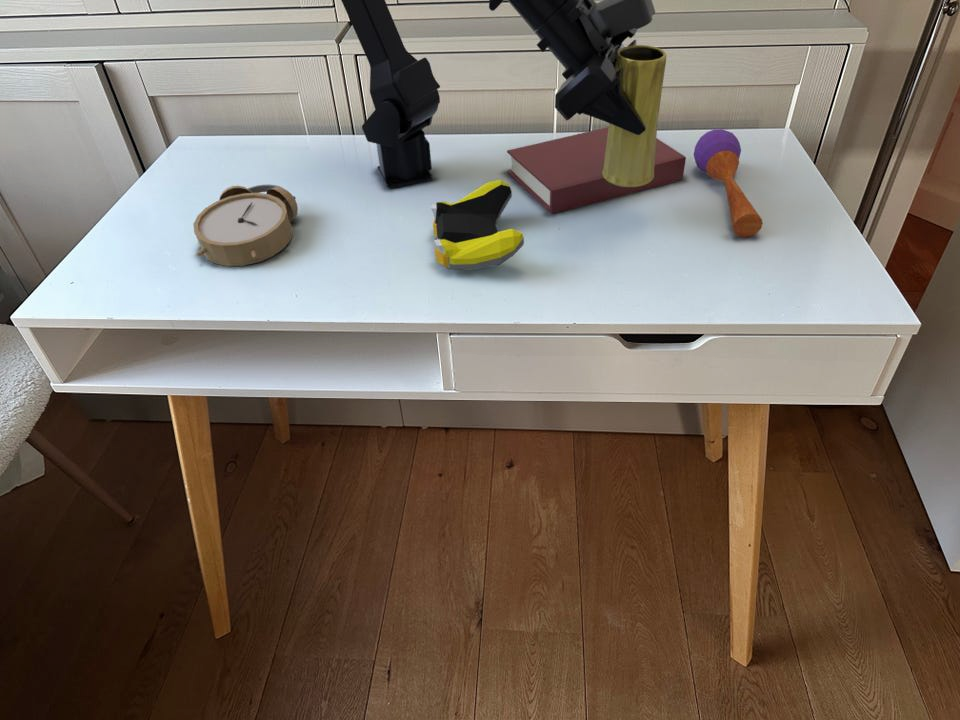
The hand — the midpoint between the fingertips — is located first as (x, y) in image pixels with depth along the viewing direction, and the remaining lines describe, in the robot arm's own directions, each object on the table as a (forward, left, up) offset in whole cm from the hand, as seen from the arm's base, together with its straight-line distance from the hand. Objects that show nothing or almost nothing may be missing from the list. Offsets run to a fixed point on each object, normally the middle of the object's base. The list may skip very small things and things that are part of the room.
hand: (646, 122), depth 81 cm
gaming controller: (-20, +2, -13) cm, 24 cm away
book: (+1, +13, -13) cm, 18 cm away
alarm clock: (-45, +16, -13) cm, 50 cm away
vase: (-1, +1, -7) cm, 7 cm away
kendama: (+13, +1, -13) cm, 19 cm away
